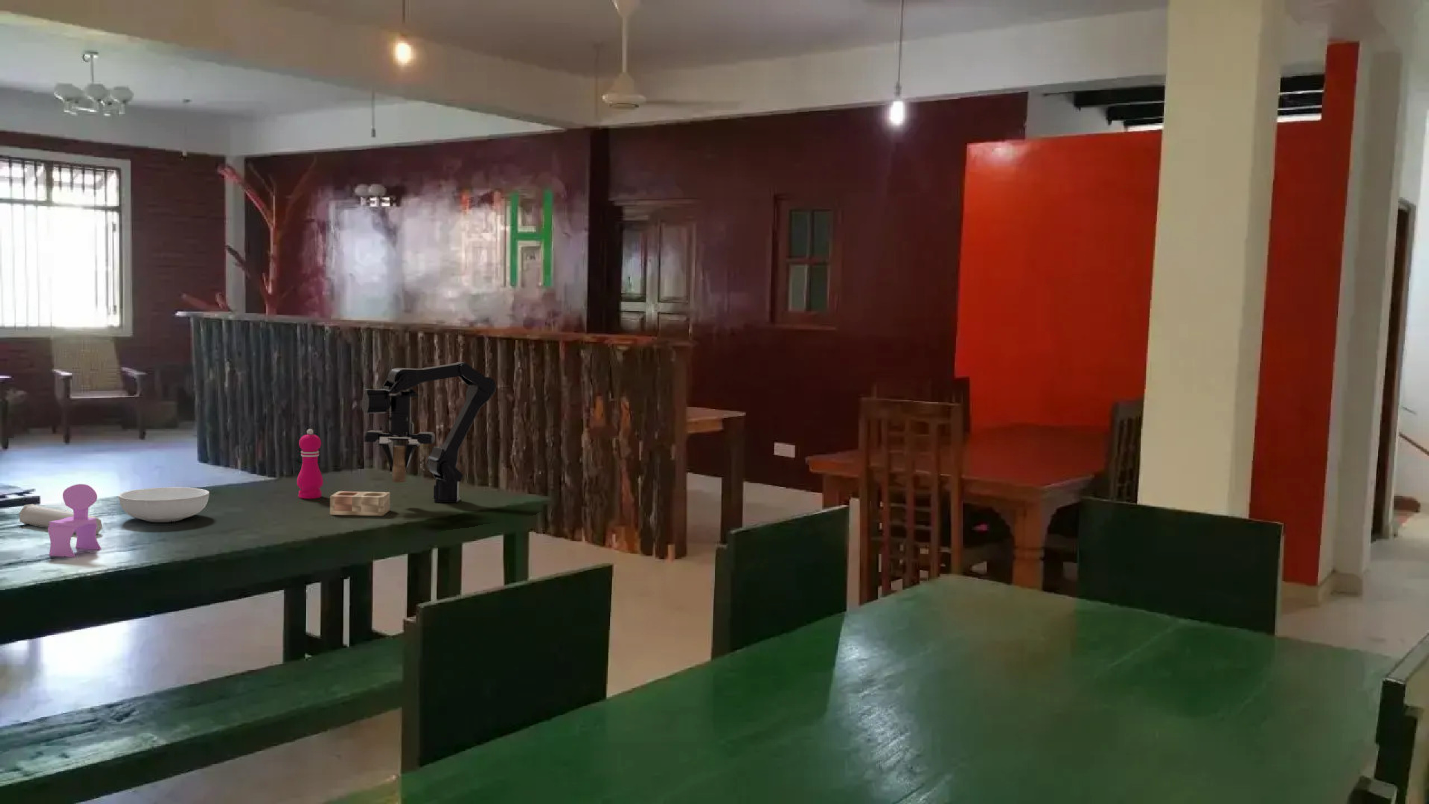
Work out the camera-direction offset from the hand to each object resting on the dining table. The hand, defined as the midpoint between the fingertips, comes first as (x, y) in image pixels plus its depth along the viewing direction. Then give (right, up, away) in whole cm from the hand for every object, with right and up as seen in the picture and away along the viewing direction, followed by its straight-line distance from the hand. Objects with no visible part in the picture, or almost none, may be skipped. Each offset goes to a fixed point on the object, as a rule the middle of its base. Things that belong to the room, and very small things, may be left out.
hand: (399, 467), depth 310 cm
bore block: (-7, -12, -11) cm, 18 cm away
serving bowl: (-52, -12, -29) cm, 61 cm away
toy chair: (-53, -15, -68) cm, 87 cm away
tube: (-69, -13, -45) cm, 83 cm away
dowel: (0, -4, 0) cm, 4 cm away
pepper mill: (-29, -9, +9) cm, 32 cm away
